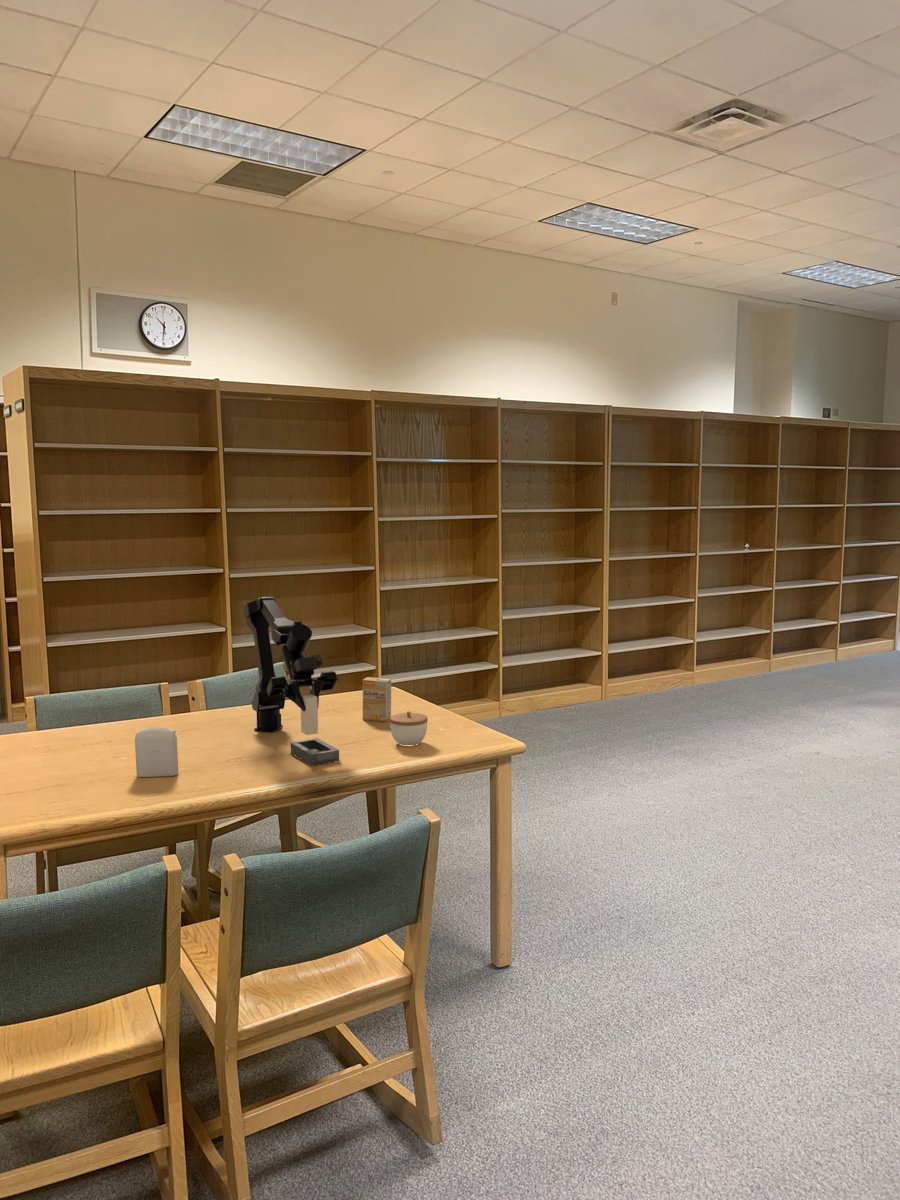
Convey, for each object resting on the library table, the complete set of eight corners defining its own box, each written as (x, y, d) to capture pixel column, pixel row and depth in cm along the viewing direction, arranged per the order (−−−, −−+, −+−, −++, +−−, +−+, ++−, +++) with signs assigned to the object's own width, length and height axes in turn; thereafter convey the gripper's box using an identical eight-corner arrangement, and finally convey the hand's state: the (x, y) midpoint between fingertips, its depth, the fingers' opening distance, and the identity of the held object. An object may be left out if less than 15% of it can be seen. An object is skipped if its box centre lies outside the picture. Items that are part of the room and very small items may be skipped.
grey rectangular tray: (290, 752, 238) (290, 742, 238) (317, 748, 243) (317, 738, 242) (311, 766, 227) (311, 754, 226) (339, 761, 231) (339, 750, 231)
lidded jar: (413, 736, 255) (413, 705, 254) (434, 744, 247) (434, 712, 246) (383, 742, 249) (382, 710, 248) (403, 751, 240) (403, 718, 239)
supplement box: (362, 720, 274) (361, 679, 273) (367, 716, 279) (367, 676, 277) (386, 722, 272) (386, 681, 270) (391, 718, 276) (391, 678, 275)
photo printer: (134, 778, 216) (132, 730, 215) (138, 773, 221) (136, 725, 219) (176, 777, 217) (174, 729, 216) (180, 772, 222) (178, 724, 220)
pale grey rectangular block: (301, 731, 234) (300, 695, 233) (312, 730, 236) (311, 694, 235) (306, 735, 231) (306, 698, 230) (317, 733, 232) (317, 697, 231)
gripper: (269, 648, 229) (284, 697, 221) (334, 642, 239) (351, 689, 231) (260, 672, 237) (274, 720, 229) (324, 665, 246) (340, 711, 238)
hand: (311, 709), depth 231 cm, fingers closed on pale grey rectangular block, 3 cm apart
